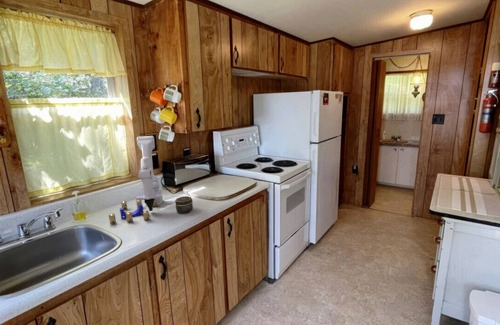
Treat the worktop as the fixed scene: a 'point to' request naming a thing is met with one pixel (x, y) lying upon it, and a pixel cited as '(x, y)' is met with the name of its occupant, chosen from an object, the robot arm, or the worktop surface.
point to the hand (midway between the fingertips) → (151, 210)
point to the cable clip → (135, 213)
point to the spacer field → (129, 214)
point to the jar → (184, 205)
